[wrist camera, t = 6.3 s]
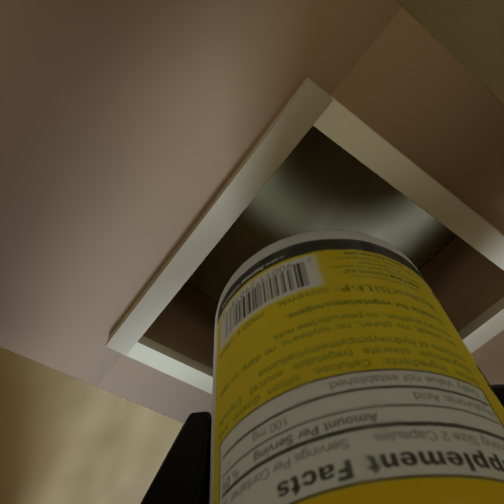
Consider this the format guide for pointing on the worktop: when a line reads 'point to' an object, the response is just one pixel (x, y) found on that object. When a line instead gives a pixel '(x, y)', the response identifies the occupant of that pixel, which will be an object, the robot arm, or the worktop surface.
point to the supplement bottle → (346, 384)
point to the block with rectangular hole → (216, 168)
